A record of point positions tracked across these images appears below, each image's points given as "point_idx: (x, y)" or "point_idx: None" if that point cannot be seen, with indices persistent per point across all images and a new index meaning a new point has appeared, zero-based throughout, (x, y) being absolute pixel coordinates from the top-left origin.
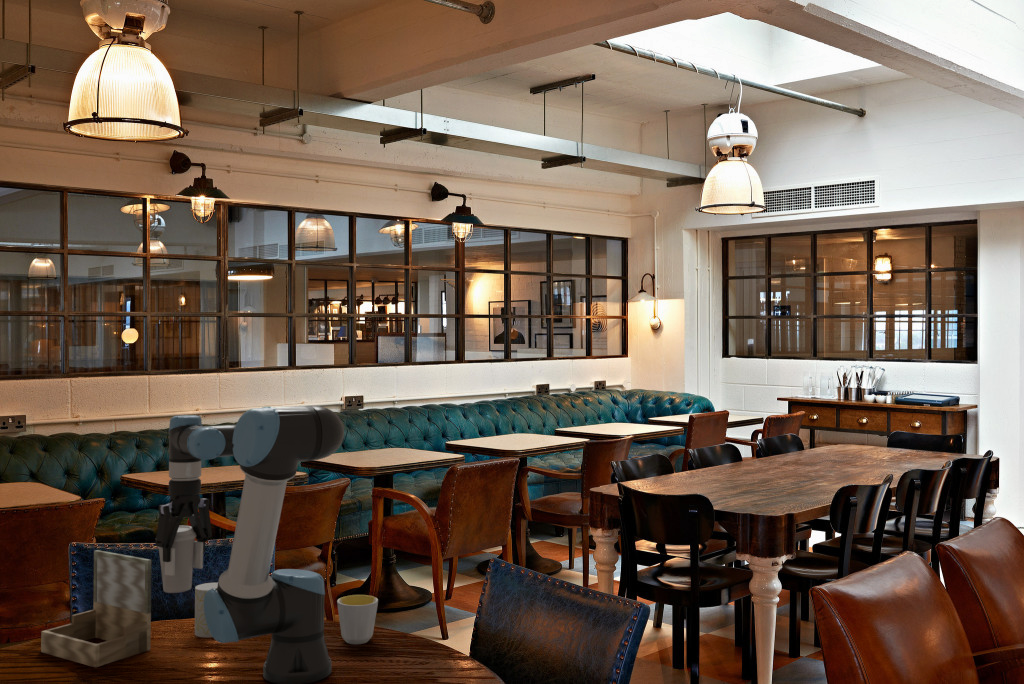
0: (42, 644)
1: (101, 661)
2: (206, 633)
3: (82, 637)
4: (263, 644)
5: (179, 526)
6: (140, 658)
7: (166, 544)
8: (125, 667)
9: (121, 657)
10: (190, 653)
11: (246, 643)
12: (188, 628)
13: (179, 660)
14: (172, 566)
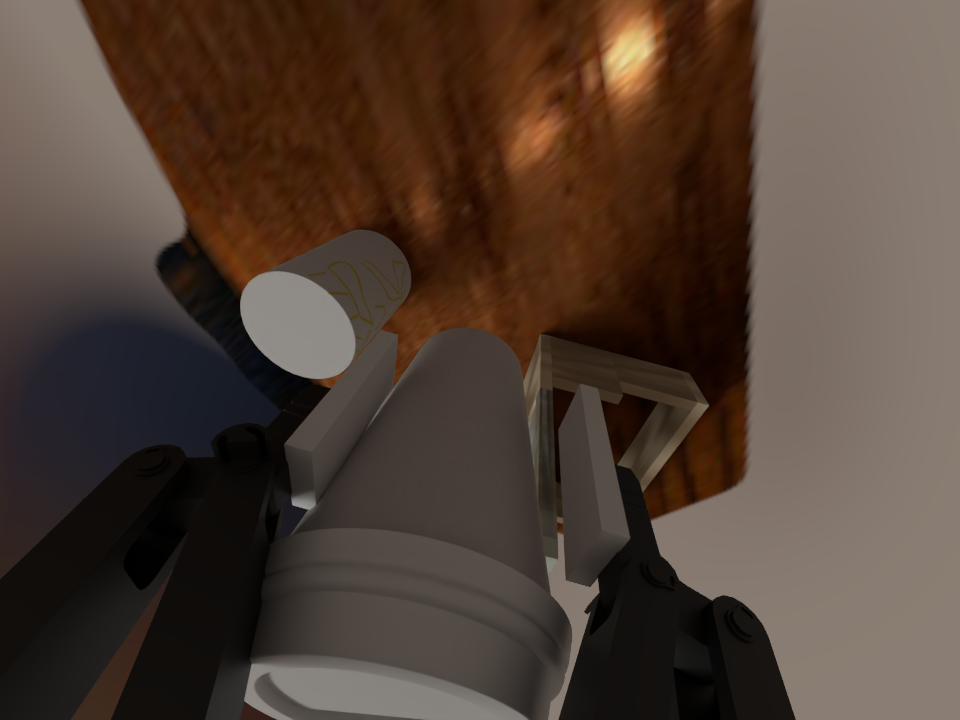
0: None
1: (677, 374)
2: (403, 263)
3: None
4: (379, 11)
5: (290, 714)
6: (607, 317)
7: (680, 613)
8: (682, 311)
9: (621, 356)
10: (539, 215)
11: (398, 93)
12: None
13: (605, 205)
14: (602, 425)
